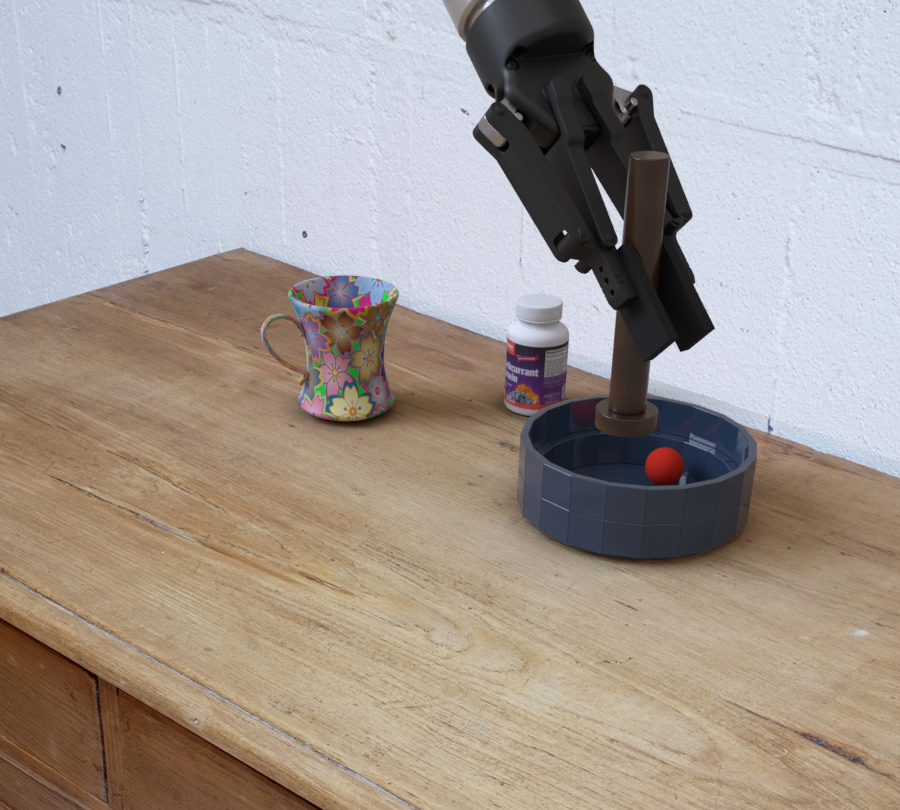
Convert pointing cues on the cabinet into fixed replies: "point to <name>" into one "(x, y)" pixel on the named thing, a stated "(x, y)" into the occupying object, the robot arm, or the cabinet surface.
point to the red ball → (664, 466)
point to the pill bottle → (536, 355)
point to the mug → (341, 345)
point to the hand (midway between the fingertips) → (679, 344)
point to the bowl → (635, 481)
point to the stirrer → (645, 231)
